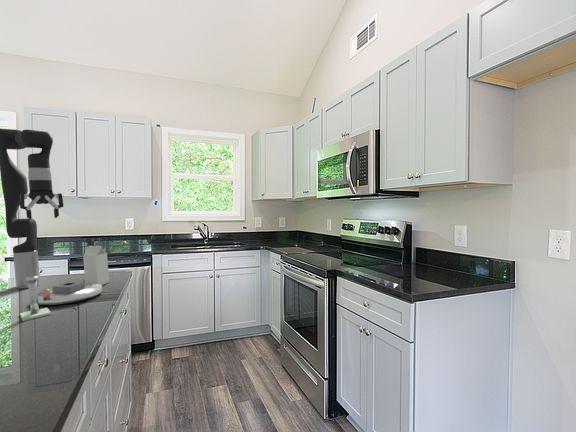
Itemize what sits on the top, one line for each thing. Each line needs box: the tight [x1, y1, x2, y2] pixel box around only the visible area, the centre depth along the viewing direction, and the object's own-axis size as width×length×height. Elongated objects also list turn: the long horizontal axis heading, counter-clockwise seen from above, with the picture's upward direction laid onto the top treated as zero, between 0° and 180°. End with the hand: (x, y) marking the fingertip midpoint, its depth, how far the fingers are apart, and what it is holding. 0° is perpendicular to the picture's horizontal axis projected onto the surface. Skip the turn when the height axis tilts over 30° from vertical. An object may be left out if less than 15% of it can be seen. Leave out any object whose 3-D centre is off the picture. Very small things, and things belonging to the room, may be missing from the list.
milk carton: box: [82, 245, 110, 286], centre depth 155 cm, size 7×7×19 cm
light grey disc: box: [38, 281, 103, 306], centre depth 135 cm, size 24×24×6 cm
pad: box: [19, 307, 52, 322], centre depth 116 cm, size 8×8×1 cm
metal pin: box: [26, 276, 40, 314], centre depth 116 cm, size 4×4×13 cm
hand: (43, 218), depth 133 cm, fingers open, 8 cm apart
